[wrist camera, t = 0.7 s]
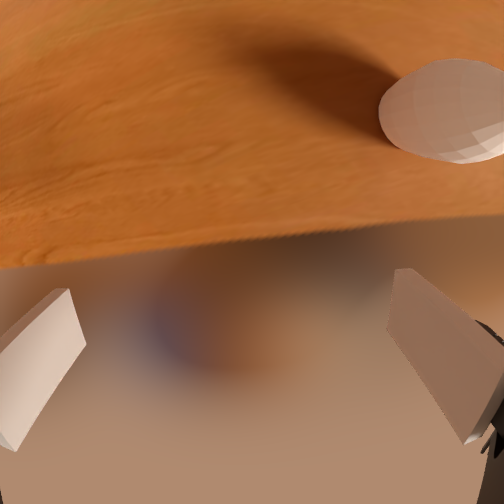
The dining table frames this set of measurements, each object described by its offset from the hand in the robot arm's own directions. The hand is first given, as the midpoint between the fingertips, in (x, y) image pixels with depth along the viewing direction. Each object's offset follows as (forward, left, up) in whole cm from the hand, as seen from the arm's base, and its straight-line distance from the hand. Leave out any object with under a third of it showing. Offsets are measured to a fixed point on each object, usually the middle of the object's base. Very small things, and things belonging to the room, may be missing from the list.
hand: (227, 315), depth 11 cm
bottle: (-13, +22, -27) cm, 37 cm away
